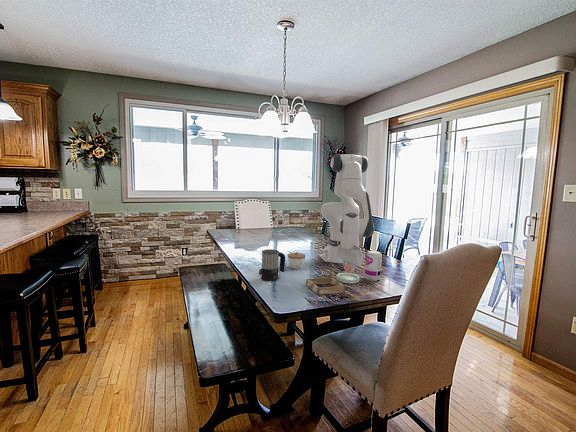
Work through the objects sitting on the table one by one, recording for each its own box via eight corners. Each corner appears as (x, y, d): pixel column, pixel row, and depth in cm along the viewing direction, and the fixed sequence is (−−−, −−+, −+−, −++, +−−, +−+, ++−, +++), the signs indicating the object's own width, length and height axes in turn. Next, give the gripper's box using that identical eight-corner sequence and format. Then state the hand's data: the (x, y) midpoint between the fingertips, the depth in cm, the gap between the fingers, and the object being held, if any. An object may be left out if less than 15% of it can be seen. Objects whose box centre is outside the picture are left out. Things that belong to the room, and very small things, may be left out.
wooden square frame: (306, 284, 149) (306, 278, 149) (331, 282, 154) (331, 276, 153) (318, 294, 136) (318, 288, 136) (344, 292, 141) (345, 286, 140)
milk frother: (270, 283, 150) (271, 254, 148) (247, 276, 159) (248, 249, 157) (287, 276, 162) (288, 249, 160) (264, 270, 171) (265, 245, 169)
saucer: (332, 277, 163) (332, 273, 163) (351, 275, 167) (351, 272, 167) (343, 284, 152) (343, 280, 151) (363, 282, 156) (364, 278, 155)
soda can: (369, 282, 157) (371, 254, 155) (361, 277, 165) (363, 250, 163) (383, 281, 159) (385, 253, 158) (374, 276, 167) (376, 250, 165)
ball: (342, 272, 160) (342, 263, 160) (350, 271, 162) (350, 262, 161) (347, 274, 155) (347, 265, 155) (355, 274, 157) (355, 265, 157)
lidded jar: (298, 271, 172) (298, 255, 171) (283, 267, 178) (284, 252, 177) (308, 267, 180) (309, 252, 179) (294, 264, 187) (294, 249, 186)
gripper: (366, 247, 148) (365, 275, 150) (345, 240, 168) (344, 264, 169) (355, 248, 146) (354, 275, 148) (335, 240, 165) (334, 265, 167)
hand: (348, 269), depth 158 cm, fingers closed on ball, 5 cm apart
